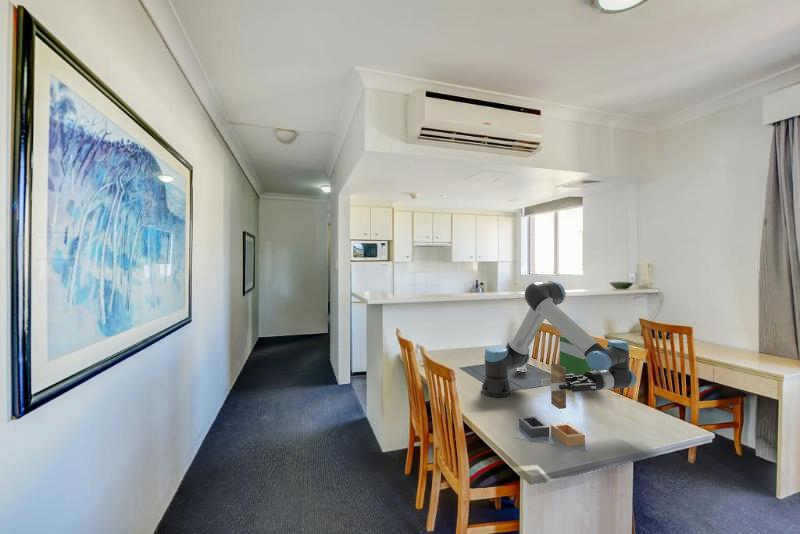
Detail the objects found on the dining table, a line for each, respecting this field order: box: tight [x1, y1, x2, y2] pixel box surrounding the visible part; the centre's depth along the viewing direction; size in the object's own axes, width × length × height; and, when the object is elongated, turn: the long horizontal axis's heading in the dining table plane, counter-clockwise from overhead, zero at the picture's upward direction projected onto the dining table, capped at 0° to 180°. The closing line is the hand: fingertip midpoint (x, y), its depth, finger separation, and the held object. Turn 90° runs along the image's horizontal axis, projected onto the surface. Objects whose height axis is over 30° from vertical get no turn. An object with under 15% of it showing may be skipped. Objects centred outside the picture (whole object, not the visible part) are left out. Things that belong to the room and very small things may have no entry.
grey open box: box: [518, 415, 550, 438], centre depth 133 cm, size 7×9×4 cm
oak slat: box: [550, 363, 567, 410], centre depth 133 cm, size 3×5×16 cm, turn 10°
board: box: [515, 423, 588, 452], centre depth 130 cm, size 24×14×1 cm, turn 66°
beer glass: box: [516, 364, 528, 372], centre depth 209 cm, size 7×7×15 cm
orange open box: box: [550, 422, 586, 446], centre depth 127 cm, size 7×9×4 cm
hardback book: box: [559, 335, 595, 376], centre depth 192 cm, size 18×7×24 cm, turn 15°
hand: (546, 384), depth 132 cm, fingers closed on oak slat, 5 cm apart
